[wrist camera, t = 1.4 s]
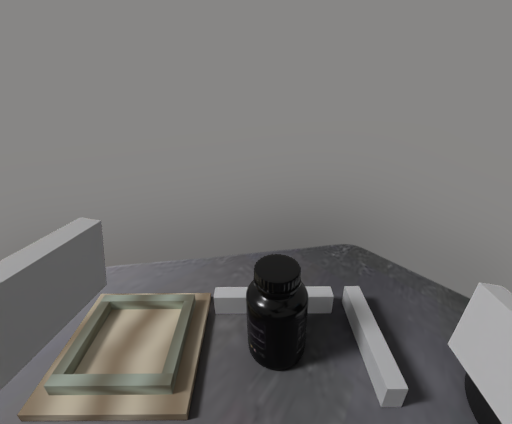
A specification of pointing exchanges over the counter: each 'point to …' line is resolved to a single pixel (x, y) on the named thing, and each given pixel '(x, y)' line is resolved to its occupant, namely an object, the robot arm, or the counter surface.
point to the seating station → (126, 361)
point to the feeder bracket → (363, 326)
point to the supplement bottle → (277, 312)
